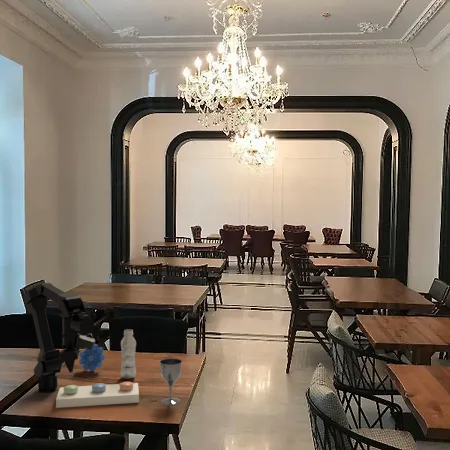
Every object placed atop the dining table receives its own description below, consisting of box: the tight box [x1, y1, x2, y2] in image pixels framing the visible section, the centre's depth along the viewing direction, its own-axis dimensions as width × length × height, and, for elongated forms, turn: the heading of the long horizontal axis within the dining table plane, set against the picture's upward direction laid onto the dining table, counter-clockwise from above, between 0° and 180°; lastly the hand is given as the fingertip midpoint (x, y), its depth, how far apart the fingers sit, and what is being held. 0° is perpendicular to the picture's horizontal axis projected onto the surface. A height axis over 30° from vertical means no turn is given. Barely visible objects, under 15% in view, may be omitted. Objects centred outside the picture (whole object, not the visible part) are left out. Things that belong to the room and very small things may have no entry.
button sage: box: [63, 384, 79, 394], centre depth 187 cm, size 5×5×4 cm
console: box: [55, 382, 140, 409], centre depth 189 cm, size 29×12×3 cm, turn 101°
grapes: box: [78, 343, 106, 372], centre depth 220 cm, size 12×7×12 cm, turn 81°
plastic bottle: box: [120, 328, 137, 380], centre depth 211 cm, size 6×7×20 cm
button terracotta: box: [119, 381, 134, 391], centre depth 191 cm, size 5×5×4 cm
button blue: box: [91, 382, 107, 392], centre depth 189 cm, size 5×5×4 cm
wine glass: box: [159, 357, 183, 406], centre depth 187 cm, size 8×8×15 cm
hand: (71, 372), depth 186 cm, fingers closed
